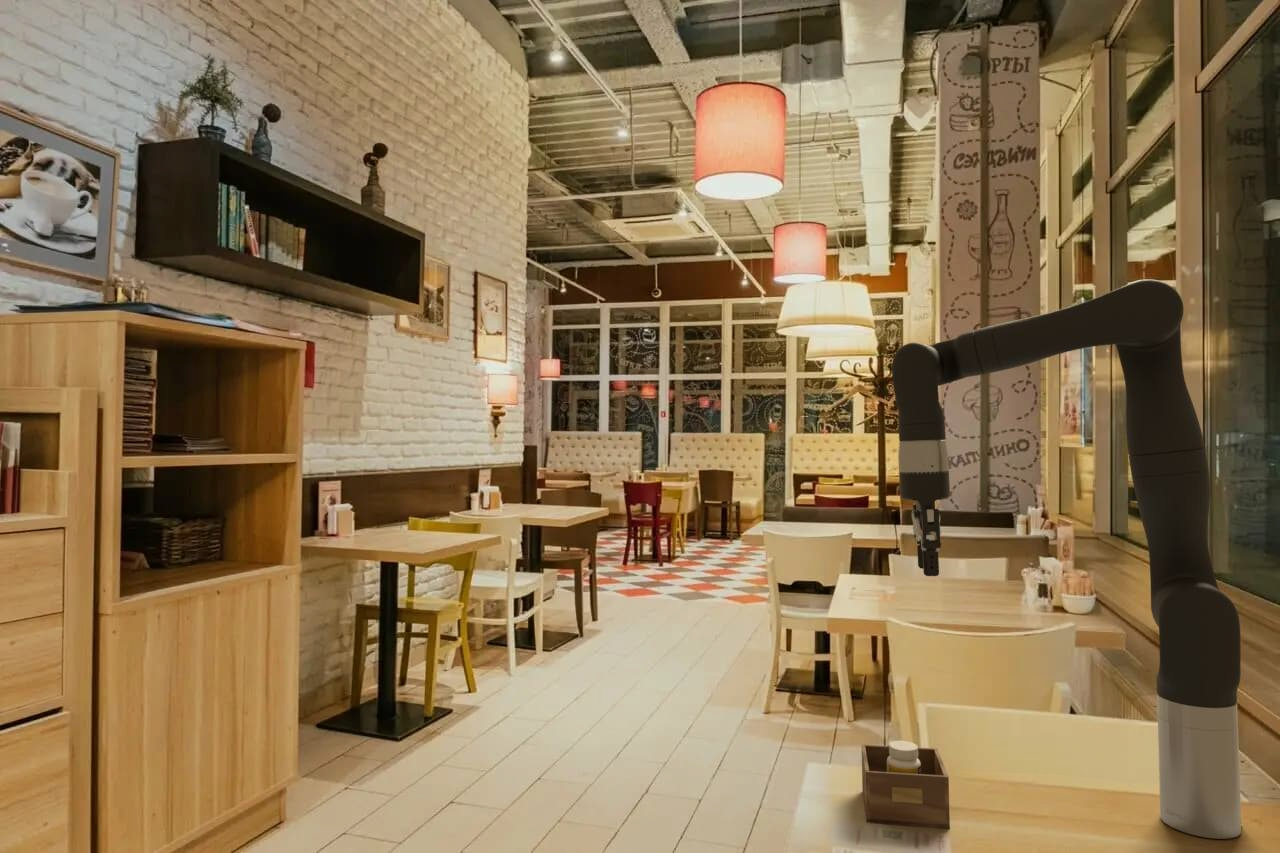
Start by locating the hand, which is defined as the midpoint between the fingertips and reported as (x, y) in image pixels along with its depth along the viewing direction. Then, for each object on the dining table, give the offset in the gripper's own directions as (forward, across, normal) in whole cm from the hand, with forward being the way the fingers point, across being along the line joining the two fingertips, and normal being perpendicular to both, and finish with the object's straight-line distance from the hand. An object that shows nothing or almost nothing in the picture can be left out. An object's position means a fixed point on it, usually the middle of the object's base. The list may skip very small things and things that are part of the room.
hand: (928, 571), depth 134 cm
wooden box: (+32, -12, +6) cm, 35 cm away
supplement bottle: (+32, -12, +6) cm, 35 cm away
